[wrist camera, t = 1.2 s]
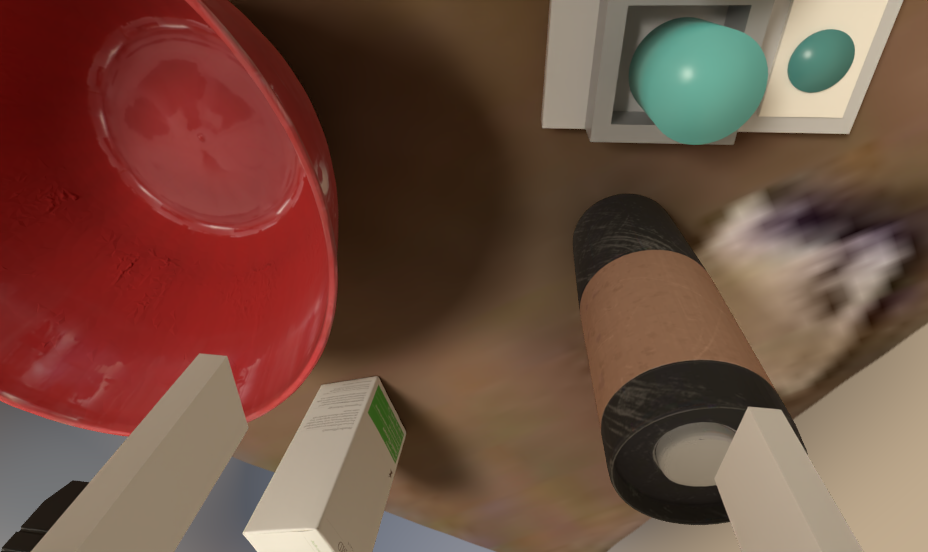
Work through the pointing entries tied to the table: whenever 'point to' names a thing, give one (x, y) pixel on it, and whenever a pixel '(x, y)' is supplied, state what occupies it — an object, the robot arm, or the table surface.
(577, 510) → the table surface
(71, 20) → the mixing bowl
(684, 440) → the travel mug
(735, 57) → the button
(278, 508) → the skincare box
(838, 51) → the button panel
